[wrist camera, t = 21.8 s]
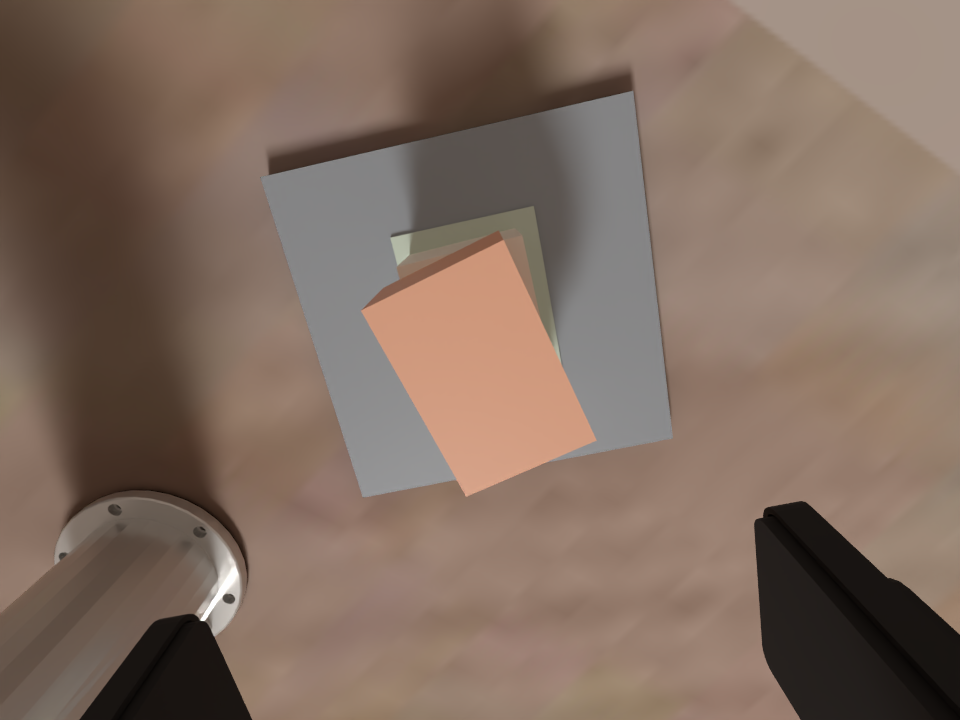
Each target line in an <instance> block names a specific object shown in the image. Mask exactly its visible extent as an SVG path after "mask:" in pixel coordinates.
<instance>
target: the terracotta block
mask: <svg viewBox="0 0 960 720" xmlns="http://www.w3.org/2000/svg"><path fill="white" fill-rule="evenodd" d="M361 312H362V314H363V315H364V317H365V319H366V321H367V322H368V324H369V326H370V328H371V329H372V331H373V333H374V335H375V337H376V338H377V340H378V342H379V344H380V345H381V347H382V349H383V351H384V352H385V354H386V356H387V358H388V359H389V361H390V363H391V365H392V366H393V368H394V370H395V372H396V374H397V375H398V377H399V379H400V381H401V382H402V384H403V386H404V388H405V389H406V391H407V393H408V395H409V396H410V398H411V400H412V402H413V404H414V405H415V407H416V409H417V411H418V412H419V414H420V416H421V418H422V419H423V421H424V423H425V425H426V426H427V428H428V430H429V432H430V433H431V435H432V437H433V439H434V441H435V442H436V444H437V446H438V448H439V449H440V451H441V453H442V455H443V456H444V458H445V460H446V462H447V463H448V465H449V467H450V469H451V470H452V472H453V474H454V476H455V478H456V479H457V481H458V483H459V485H460V486H461V488H462V490H463V492H464V493H465V495H466V497H467V496H469V495H471V494H474V493H476V492H478V491H481V490H483V489H485V488H488V487H490V486H492V485H495V484H497V483H499V482H502V481H504V480H506V479H508V478H511V477H513V476H515V475H518V474H520V473H522V472H525V471H527V470H529V469H532V468H534V467H536V466H539V465H541V464H543V463H546V462H548V461H550V460H553V459H555V458H557V457H560V456H562V455H564V454H567V453H569V452H571V451H574V450H576V449H578V448H580V447H583V446H585V445H587V444H590V443H592V442H594V441H597V440H596V438H595V436H594V433H593V431H592V429H591V427H590V425H589V423H588V420H587V418H586V416H585V414H584V412H583V410H582V408H581V405H580V403H579V401H578V399H577V397H576V395H575V393H574V390H573V388H572V386H571V384H570V382H569V380H568V377H567V375H566V373H565V371H564V369H563V367H562V365H561V362H560V360H559V358H558V356H557V354H556V352H555V349H554V347H553V345H552V343H551V341H550V339H549V337H548V334H547V332H546V330H545V328H544V326H543V324H542V322H541V319H540V317H539V315H538V313H537V311H536V309H535V306H534V304H533V302H532V300H531V298H530V296H529V294H528V291H527V289H526V287H525V285H524V283H523V281H522V278H521V276H520V274H519V272H518V270H517V268H516V266H515V263H514V261H513V259H512V257H511V255H510V253H509V251H508V248H507V246H506V244H505V242H504V240H503V238H502V236H501V234H500V232H499V230H498V231H496V232H494V233H492V234H490V235H488V236H486V237H484V238H482V239H480V240H478V241H476V242H474V243H472V244H470V245H468V246H466V247H464V248H462V249H460V250H458V251H456V252H454V253H452V254H450V255H448V256H446V257H444V258H442V259H440V260H438V261H436V262H434V263H432V264H430V265H428V266H426V267H424V268H422V269H420V270H418V271H416V272H414V273H412V274H410V275H408V276H406V277H404V278H402V279H400V280H398V281H396V282H394V283H392V284H390V285H388V286H386V287H384V288H383V289H382V290H381V291H380V292H379V293H378V294H377V295H376V296H375V297H374V298H373V299H372V300H371V301H370V302H369V303H368V304H367V305H366V306H365V307H364V308H363V309H362V310H361Z"/></svg>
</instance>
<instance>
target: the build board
mask: <svg viewBox="0 0 960 720" xmlns="http://www.w3.org/2000/svg"><path fill="white" fill-rule="evenodd" d="M260 178H261V181H262V184H263V187H264V190H265V193H266V197H267V200H268V203H269V206H270V209H271V212H272V215H273V218H274V221H275V225H276V228H277V231H278V234H279V237H280V240H281V243H282V246H283V250H284V253H285V256H286V259H287V262H288V265H289V268H290V271H291V274H292V278H293V281H294V284H295V287H296V290H297V293H298V296H299V299H300V303H301V306H302V309H303V312H304V315H305V318H306V321H307V324H308V327H309V331H310V334H311V337H312V340H313V343H314V346H315V349H316V352H317V356H318V359H319V362H320V365H321V368H322V371H323V374H324V377H325V380H326V384H327V387H328V390H329V393H330V396H331V399H332V402H333V405H334V409H335V412H336V415H337V418H338V421H339V424H340V427H341V430H342V434H343V437H344V440H345V443H346V446H347V449H348V452H349V455H350V458H351V462H352V465H353V468H354V471H355V474H356V477H357V480H358V483H359V487H360V490H361V493H362V496H363V497H368V496H374V495H379V494H384V493H389V492H394V491H400V490H405V489H410V488H415V487H421V486H426V485H431V484H436V483H442V482H447V481H452V480H457V479H456V478H455V476H454V474H453V472H452V470H451V469H450V467H449V465H448V463H447V462H446V460H445V458H444V456H443V455H442V453H441V451H440V449H439V448H438V446H437V444H436V442H435V441H434V439H433V437H432V435H431V433H430V432H429V430H428V428H427V426H426V425H425V423H424V421H423V419H422V418H421V416H420V414H419V412H418V411H417V409H416V407H415V405H414V404H413V402H412V400H411V398H410V396H409V395H408V393H407V391H406V389H405V388H404V386H403V384H402V382H401V381H400V379H399V377H398V375H397V374H396V372H395V370H394V368H393V366H392V365H391V363H390V361H389V359H388V358H387V356H386V354H385V352H384V351H383V349H382V347H381V345H380V344H379V342H378V340H377V338H376V337H375V335H374V333H373V331H372V329H371V328H370V326H369V324H368V322H367V321H366V319H365V317H364V315H363V314H362V312H361V310H362V309H363V308H364V307H365V306H366V305H367V304H368V303H369V302H370V301H371V300H372V299H373V298H374V297H375V296H376V295H377V294H378V293H379V292H380V291H381V290H382V289H383V288H384V287H386V286H388V285H390V284H392V283H394V282H396V281H398V280H400V278H399V275H398V272H397V268H396V267H397V266H398V265H399V264H400V263H401V262H402V261H403V260H405V259H406V258H407V257H408V256H409V255H411V254H415V253H419V252H423V251H427V250H431V249H435V248H438V247H442V246H446V245H450V244H454V243H458V242H462V241H466V240H470V239H474V238H478V237H482V236H486V235H490V234H492V233H494V232H496V231H498V230H499V232H501V231H505V230H509V229H513V228H516V229H517V230H518V231H519V232H520V233H521V234H522V236H523V241H524V245H525V250H526V254H527V259H528V263H529V268H530V273H531V277H532V282H533V286H534V291H535V295H536V300H537V304H538V309H539V314H540V318H541V322H542V324H543V326H544V328H545V330H546V332H547V334H548V337H549V339H550V341H551V343H552V345H553V347H554V349H555V352H556V354H557V356H558V358H559V360H560V362H561V365H562V367H563V369H564V371H565V373H566V375H567V377H568V380H569V382H570V384H571V386H572V388H573V390H574V393H575V395H576V397H577V399H578V401H579V403H580V405H581V408H582V410H583V412H584V414H585V416H586V418H587V420H588V423H589V425H590V427H591V429H592V431H593V433H594V436H595V438H596V440H597V441H594V442H592V443H590V444H587V445H585V446H583V447H580V448H578V449H576V450H574V451H571V452H569V453H567V454H564V455H562V456H560V457H557V458H555V459H553V460H550V461H548V462H551V461H557V460H562V459H567V458H572V457H578V456H583V455H588V454H593V453H598V452H604V451H609V450H614V449H619V448H625V447H630V446H635V445H640V444H646V443H651V442H656V441H661V440H666V439H672V438H673V436H672V427H671V418H670V409H669V401H668V392H667V383H666V374H665V365H664V357H663V348H662V339H661V330H660V322H659V313H658V304H657V295H656V287H655V278H654V269H653V260H652V251H651V243H650V234H649V225H648V216H647V208H646V199H645V190H644V181H643V173H642V164H641V155H640V146H639V137H638V129H637V120H636V111H635V102H634V94H633V91H630V92H626V93H622V94H617V95H613V96H609V97H604V98H600V99H596V100H591V101H587V102H583V103H578V104H574V105H570V106H565V107H561V108H557V109H553V110H548V111H544V112H540V113H535V114H531V115H527V116H522V117H518V118H514V119H509V120H505V121H501V122H496V123H492V124H488V125H483V126H479V127H475V128H470V129H466V130H462V131H458V132H453V133H449V134H445V135H440V136H436V137H432V138H427V139H423V140H419V141H414V142H410V143H406V144H401V145H397V146H393V147H388V148H384V149H380V150H376V151H371V152H367V153H363V154H358V155H354V156H350V157H345V158H341V159H337V160H332V161H328V162H324V163H319V164H315V165H311V166H306V167H302V168H298V169H294V170H289V171H285V172H281V173H276V174H272V175H268V176H263V177H260Z"/></svg>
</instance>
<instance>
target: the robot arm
mask: <svg viewBox="0 0 960 720" xmlns="http://www.w3.org/2000/svg"><path fill="white" fill-rule="evenodd" d="M754 529H755V544H756V559H757V574H758V589H759V603H760V618H761V633H762V646H763V652H764V655H765V658H766V661H767V664H768V666H769V668H770V670H771V672H772V674H773V675H774V677H775V678H776V680H777V682H778V683H779V685H780V687H781V688H782V690H783V691H784V693H785V695H786V696H787V698H788V700H789V701H790V703H791V704H792V706H793V708H794V709H795V711H796V713H797V714H798V716H799V717H800V719H801V720H960V635H959V634H958V633H957V632H956V631H955V630H954V629H953V628H952V627H951V626H950V625H948V624H947V623H946V622H945V621H944V620H943V619H942V618H941V617H940V616H939V615H938V614H936V613H935V612H934V611H933V610H932V609H931V608H930V607H929V606H928V605H927V604H926V603H924V602H923V601H922V600H921V599H920V598H919V597H918V596H917V595H916V594H915V593H914V592H912V591H911V590H910V589H909V588H908V587H906V586H905V585H904V584H902V583H901V582H899V581H897V580H894V579H891V578H887V577H886V576H885V575H884V574H882V573H881V572H880V571H879V570H878V569H877V568H876V567H875V566H874V565H873V564H872V563H871V562H870V561H869V560H868V559H866V558H865V557H864V556H863V555H862V554H861V553H860V552H859V551H858V550H857V549H856V548H855V547H854V546H853V545H852V544H850V543H849V542H848V541H847V540H846V539H845V538H844V537H843V536H842V535H841V534H840V533H839V532H838V531H837V530H836V529H835V528H833V527H832V526H831V525H830V524H829V523H828V522H827V521H826V520H825V519H824V518H823V517H822V516H821V515H820V514H819V513H817V512H816V511H815V510H814V509H813V508H812V507H811V506H810V505H809V504H807V503H806V502H803V501H799V502H794V503H788V504H783V505H777V506H772V507H767V508H766V509H765V510H764V513H763V518H759V519H756V520H755V523H754ZM54 564H55V566H54V567H53V568H51V569H50V570H49V571H48V572H47V573H46V574H45V575H43V576H42V577H41V578H40V579H39V580H38V581H37V582H36V583H34V584H33V585H32V586H31V587H30V588H29V589H28V590H27V591H25V592H24V593H23V594H22V595H21V596H20V597H19V598H17V599H16V600H15V601H14V602H13V603H12V604H11V605H10V606H8V607H7V608H6V609H5V610H4V611H3V612H2V613H1V614H0V720H252V718H251V716H250V714H249V712H248V710H247V707H246V705H245V703H244V701H243V699H242V696H241V694H240V692H239V690H238V688H237V686H236V683H235V681H234V679H233V677H232V675H231V672H230V670H229V668H228V666H227V664H226V662H225V659H224V657H223V655H222V653H221V651H220V648H219V646H218V644H217V642H216V640H215V638H214V637H215V636H217V635H218V634H219V633H220V632H221V631H223V630H224V629H225V628H226V627H227V626H228V625H229V623H230V622H231V621H232V619H233V618H234V617H235V615H236V613H237V611H238V609H239V608H240V606H241V604H242V602H243V599H244V596H245V592H246V588H247V572H246V566H245V561H244V558H243V556H242V553H241V551H240V549H239V546H238V545H237V543H236V542H235V540H234V539H233V537H232V536H231V534H230V533H229V532H228V531H227V530H226V529H225V527H224V526H223V525H222V524H221V523H220V522H219V521H218V520H217V519H215V518H214V517H213V516H211V515H210V514H209V513H207V512H206V511H205V510H203V509H202V508H200V507H198V506H196V505H194V504H192V503H190V502H189V501H187V500H184V499H181V498H178V497H175V496H173V495H170V494H165V493H160V492H154V491H141V490H131V491H124V492H117V493H113V494H110V495H107V496H104V497H102V498H99V499H97V500H96V501H94V502H92V503H91V504H89V505H87V506H86V507H84V508H83V509H82V510H81V511H80V512H79V513H77V514H76V515H75V516H74V517H72V518H71V519H70V521H69V522H68V523H67V524H66V526H65V527H64V528H63V529H62V531H61V533H60V536H59V538H58V540H57V543H56V547H55V552H54Z"/></svg>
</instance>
